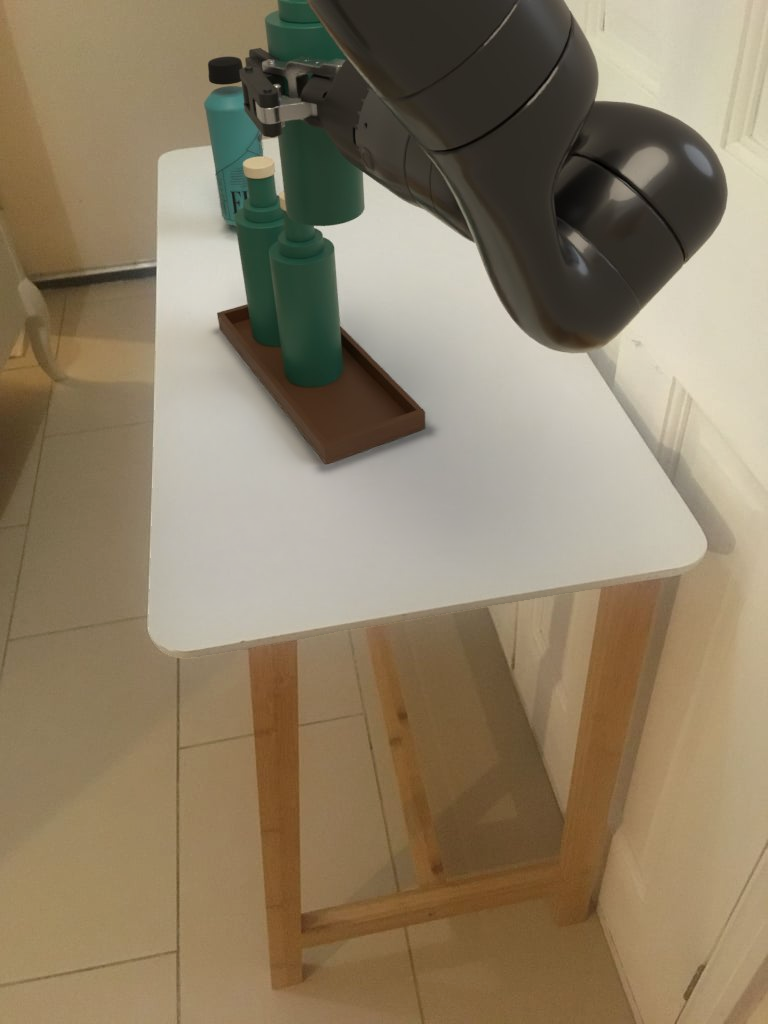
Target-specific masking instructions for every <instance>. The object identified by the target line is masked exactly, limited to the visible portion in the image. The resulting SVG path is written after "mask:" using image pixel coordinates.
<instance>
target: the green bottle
mask: <svg viewBox="0 0 768 1024" xmlns="http://www.w3.org/2000/svg"><path fill="white" fill-rule="evenodd" d="M277 6H278V7H277V8H278V9H277V10H275V11H272V12H270V13H269V14H267V15H266V16H265V18H264V25H265V35H266V42H267V43H266V44H267V51H268V53H269V54H271V55H272V56H274V57H276V58H278V59H279V61H284V62H289V61H292V60H294V59H297V58H299V57H308V58H314V59H319V60H325V61H331V60H333V59H336V58H338V59H343V60H346V59H347V58H346V57H345V56H344V54H343V53H342V52H341V50H340V49H339V48H338V46H337V45H336V44H335V42H334V41H333V39H332V38H331V37H330V35H329V34H328V32H327V31H326V30H325V28H324V27H323V25H322V24H321V22H320V21H319V19H318V18H317V16H316V15H315V14H314V12H313V11H312V9H311V8H310V6H309V5H308V3H307V1H306V0H277ZM312 75H313V74H308V77H309V79H310V78H311V76H312ZM283 83H284V92H285V93H286V94H289V90H288V81H287V79H286V77H284V76H283ZM277 141H278V150H279V159H280V167H281V176H282V177H281V178H282V185H283V186H282V187H283V191H284V195H285V204H286V213H287V215H288V217H289V218H290V219H292V220H293V221H295V222H298V223H301V224H305V225H311V226H314V227H329V226H338V225H342V224H346V223H349V222H352V221H353V220H356V219H358V218H359V217H360V216H361V215H363V213H364V211H365V188H364V187H365V186H364V172H362V171H361V170H360V169H358V168H357V167H355V166H354V165H353V164H351V163H350V162H349V161H347V160H346V159H345V158H344V157H343V156H342V155H341V153H340V152H339V151H338V149H337V148H336V146H335V145H334V143H333V141H332V140H331V138H330V136H329V135H328V133H327V131H326V130H324V129H321V128H316V127H312V126H310V125H308V124H307V123H306V122H305V121H304V120H299V119H297V120H290V121H285V126H284V127H282V134H281V135H280V136H277Z"/></svg>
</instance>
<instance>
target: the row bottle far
mask: <svg viewBox="0 0 768 1024" xmlns="http://www.w3.org/2000/svg"><path fill="white" fill-rule="evenodd" d="M243 169H244V175H245V176H246V179H247V186H248V193H249V198H247V199H246V200H245V201H244V202H243V208H242V209H240V210H239V211H238V212H237V213H236V214H235V217H234V218H235V225H236V226H235V230H236V237H237V244H238V250H239V259H240V264H241V271H242V278H243V284H244V289H245V290H244V291H245V296H246V304H248V310H249V317H250V324H251V330H252V336H253V338H254V340H255V341H256V342H258V343H260V344H262V345H265V346H270V347H281V344H280V336H279V328H278V320H277V312H276V305H275V297H274V289H273V281H272V273H271V265H270V258H269V249H270V247H271V246H272V245H273V244H274V243H275V242H277V241H278V236H279V234H280V233H281V232H283V231H284V230H285V227H284V218H283V209H282V208H281V206H280V198H279V195H277V188H276V180H275V179H276V177H275V173H276V165H275V160H274V159H273V158H271V157H269V156H263V157H253V158H249V159H247V160H245V161H244V162H243Z"/></svg>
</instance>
